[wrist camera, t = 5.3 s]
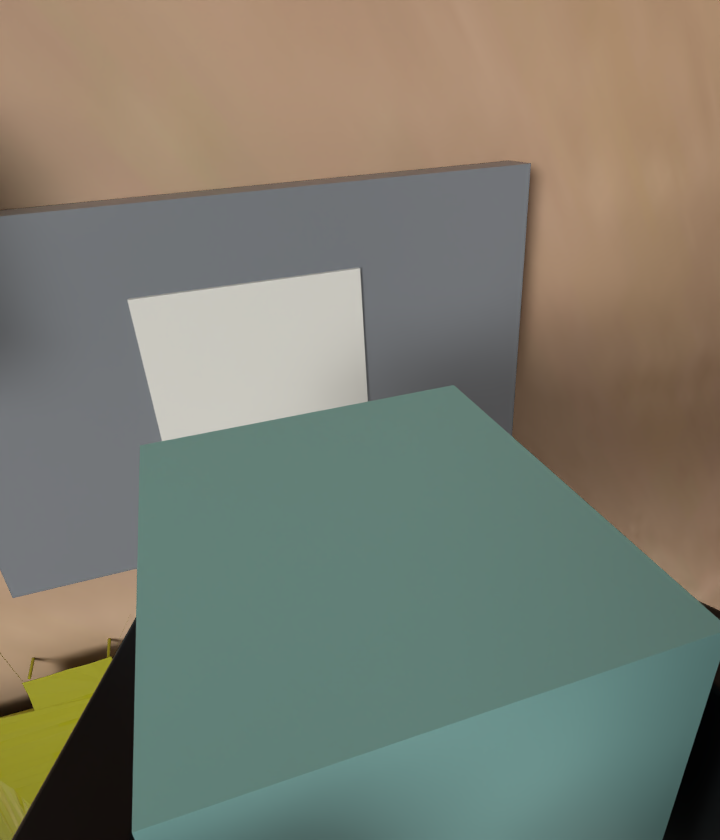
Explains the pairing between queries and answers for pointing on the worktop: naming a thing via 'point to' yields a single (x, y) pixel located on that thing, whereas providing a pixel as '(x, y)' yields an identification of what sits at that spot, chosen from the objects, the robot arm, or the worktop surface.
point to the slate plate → (233, 331)
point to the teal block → (400, 639)
